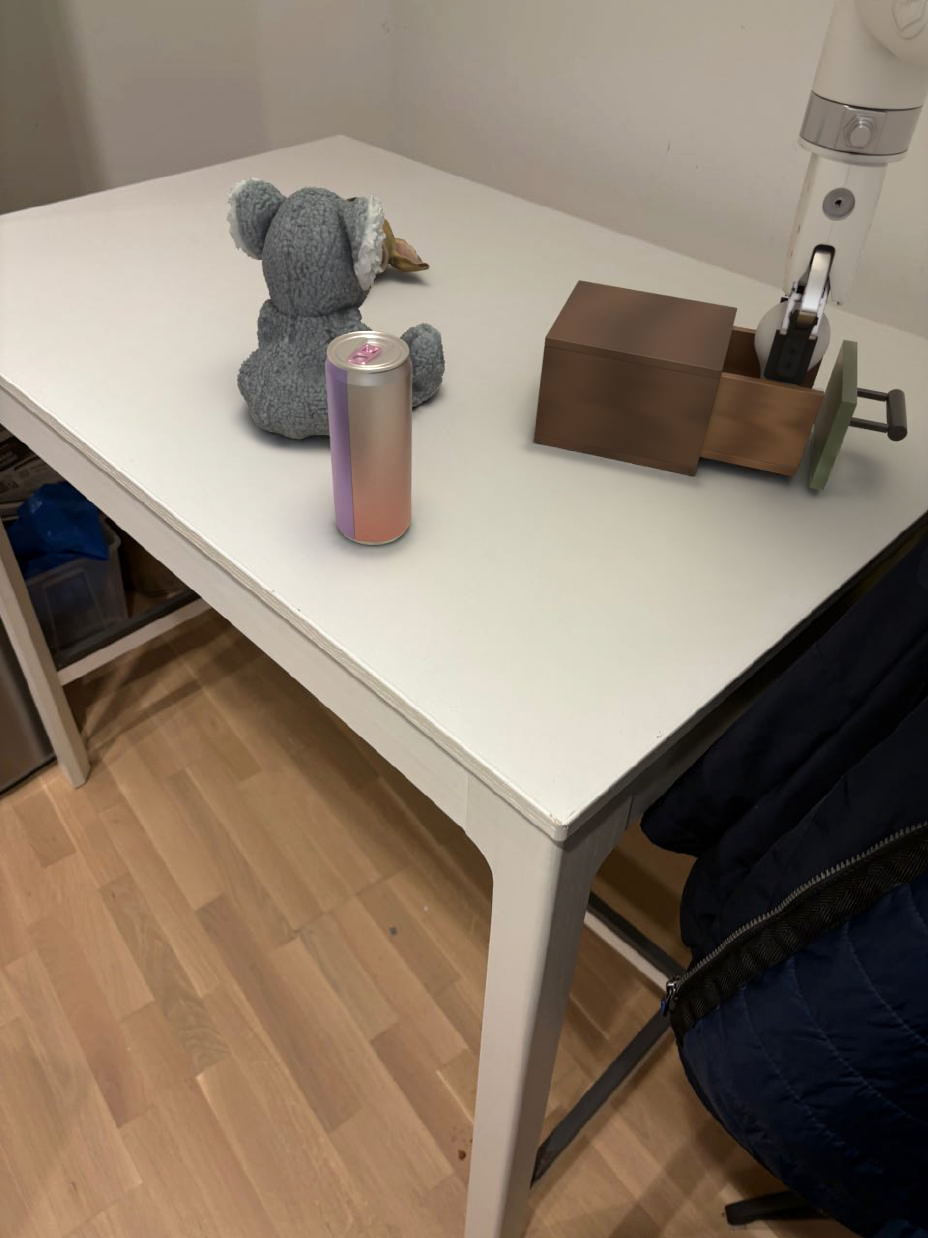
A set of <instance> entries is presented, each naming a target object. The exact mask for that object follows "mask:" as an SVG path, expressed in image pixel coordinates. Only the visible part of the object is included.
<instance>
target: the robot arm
mask: <svg viewBox="0 0 928 1238" xmlns="http://www.w3.org/2000/svg"><path fill="white" fill-rule="evenodd" d="M833 3H834V4H833V6H832V11H831V14H830V17H829V22H828V25H827V30H826V32H825V37H824V41H823V44H822V48H821V51H820V55H819V59H818V62H817V67H816V70H815V73H814V77H813V81H812V84H811V89H810V93H809V95H808V96H809V97H808V101H807V103H806V108H805V112H804V115H803V119H802V123H801V126H800V130H799V133H798V137H797V141H796V142H797V144H798V146H800V147H801V148H802V149H803V150H805V151H807V152H810V153H811V154H810V157H809V161H808V165H807V168H806V172H805V176H804V180H803V183H802V187H801V190H800V194H799V199H798V202H797V205H796V210H795V213H794V218H793V222H792V227H791V231H790V236H789V241H788V247H787V253H786V260H785V266H784V276H783V285H782V292H783V293H784V296H781V297H780V301H779V303H782V302H785V301H788V302H787V306H786V310H785V313H784V317H783V321H782V324H781V328H780V330H778V329H776V333H775V336H774V339H773V343H772V346H771V350H770V353H769V357H768V360H767V363H766V367H765V370H764V377H765V378H766V379H769V380H774V381H780V382H785V383H790V384H796V385H801V384H802V383H803V382H804V380H805V377H806V374H807V371H808V368H809V365H810V362H811V359H812V355H813V352H814V349H815V346H816V343H817V340H818V336H817V333H818V330H819V326H820V323H821V320H822V316H823V313H824V314H825V309H826V306H827V303H828V299H829V294H830V298H831V300H830V301H831V302H835V303H836V305H837V306H840V307H841V306H843V305H845V304H846V303H847V302H848V301H849V299H850V294H851V291H852V288H853V285H854V281H855V278H856V275H857V272H858V268H859V266H860V262H861V259H862V256H863V253H864V249H865V246H866V243H867V239H868V236H869V233H870V230H871V227H872V223H873V221H874V217H875V213H876V210H877V207H878V203H879V200H880V197H881V193H882V189H883V186H884V181H885V178H886V173H887V168H888V166H889V165H888V164H893V163H897V162H900V161H902V160H904V159H905V158H906V157H907V154H908V151H909V147H910V145H911V142H912V139H913V136H914V134H915V131H916V128H917V125H918V122H919V119H920V116H921V113H922V110H923V107H924V104H925V102H926V99H927V96H928V0H834V2H833ZM795 302H801V304H800V306H799V310H797V309H795V311H794V312H793V309H794V306H795Z"/></svg>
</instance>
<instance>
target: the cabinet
mask: <svg viewBox="0 0 928 1238" xmlns="http://www.w3.org/2000/svg"><path fill="white" fill-rule="evenodd" d="M737 313H738V307H734V306H729V305H723V304H717V303H713V302H712V303H711V302H705V301H700V300H694V299H688V298H685V297H684V298H683V297H678V296H671V295H666V294H661V293H656V292H655V293H654V292H648V291H644V290H638V289H632V288H626V287H621V286H620V287H619V286H615V285H610V284H604V283H603V284H602V283H597V282H591V281H586V280H580V279H578V281H577V282H576V284H575V285H574V288H573V289H572V291H571V293H570V294H569V296H568V298H567V299H566V301H565V303H564V305H563V307H562V308H561V310H560V311H559V313H558V315H557V317H556V318H555V320H554V322H553V323H552V325H551V327H550V328H549V330H548V332H547V334H546V336H545V337H544V347H543V353H542V363H541V373H540V379H539V380H540V381H539V388H538V389H539V390H538V397H537V407H536V417H535V423H534V424H535V425H534V431H533V433H534V434H533V443H537V444H540V445H541V444H542V445H546V446H551V447H556V448H561V449H565V450H568V451H569V450H570V451H575V452H579V453H583V454H589V455H594V456H597V457H603V458H607V459H611V460H617V461H622V462H627V463H631V464H635V465H640V466H645V467H649V468H654V469H659V470H663V471H669V472H673V473H677V474H682V475H688V476H692V477H695V476H696V471H697V468H698V465H699V461H700V458H701V457H700V453H701V450H702V446H703V442H704V438H705V435H706V431H707V427H708V423H709V419H710V416H711V412H712V408H713V404H714V401H715V397H716V393H717V389H718V386H719V382H720V378H721V374H722V370H723V366H724V362H725V358H726V354H727V350H728V345H729V341H730V337H731V333H732V329H733V326H735V325H734V323H735V320H736V316H737Z"/></svg>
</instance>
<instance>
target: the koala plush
mask: <svg viewBox="0 0 928 1238" xmlns="http://www.w3.org/2000/svg"><path fill="white" fill-rule="evenodd" d="M225 194H226V196H227V204H229V205H230V208H229V210H228V213H227V215H226V218H225V220H226V221H227V222H228V223H229V230H228V233H229V234H230V237H231V239H232V240H233V242H234V245H235V248H236V249H237V250H238V251H239V250H240V249H241V251H242V253H244V254H246V257H248V258H249V257H250V258H251V259H252V260H256V261H261V267H262V268H261V269H262V270H261V271H262V276H263V277H264V281H265V283H266V288H267V290H268V295H269V298H268V299H266V300H264V302H263V303H262V306H261V307H260V308H259V315H258V317H257V320H256V324H257V331H256V335H257V336H256V337H257V341H258V343H257V344H258V346H257V347H258V348H257V349H256V350H253V351H252V352H251V353H250V354H249V356H248V357H246V359H245V360H243V361H242V363H241V364H240V367H239V368H238V372H239V373H238V374H237V375H236V376H237V379H236V381H237V382H236V385H237V387H238V390H239V392H240V395H241V396H242V398H243V400H244V401H245V403H246V404H247V406H248V408H249V410H250V416H251V417H252V419H253V421H254V423H255V426H256V427H257V428H260V429H262V430H264V431H268V432H269V433H270V432H271V433H274V434H279V435H282V436H283V437H285V438H290V439H292V440H295V439H296V440H302V439H306V438H308V437H310V436H311V437H312V436H328V437H330V433H329V418H328V404H327V389H326V374H325V362H326V359H327V347H328V345H329V344H330V342H331V341H332V340H334V339H335V338H337V337H339V336H341V335H344V334H347V333H351V332H357V331H374V330H373V329H372V328H371V327H369V326H368V325H366V323H364V322H362V319H363V316H362V313H361V311H360V308H361V306H363V305H364V302H365V301H366V300H367V298H368V295H369V294H370V290H372V288H373V287H374V285H375V281H374V280H375V279H376V277H377V275H375V274H376V273H377V270H378V271H379V272H381V273H384V271H383V270H382V269H381V267H380V266H379V265H380V264H381V261H382V251H383V249H382V244H383V243H382V241H383V239H384V238H386V235H385V233H384V232H383V229H382V226H383V224H384V220H385V219H386V218H385V210H384V208H383V205H382V201H383V198H379V197H377V196H376V195H375V194H373V195H372V194H370V195H369V198H366V197H365V196H361V197H358V198H356V199H355V201H353V202H349V203H347V202H346V201H345V200H344V199H345V198H344V199H343V197H341V196H339V194H337V193H336V192H335V191H331V190H329V189H327V188H326V187H324V188H323V187H317V186H309V187H307V186H304V188H303V187H302V188H300V189H299V190H297V189H296V191H294V192H293V193H291V194H289V196H288V197H287V196H286V195H284V194H282V193H281V191H280V190H279V189H278V188H277V187H275V185H274V184H273V183H271V182H266V181H265V180H264V179H260V178H259V177H248V178H246V177H245V178H244V179H241V180H240V182H238V181H235V184H234V186H233V185H231V186H230V193H228V191H226V192H225ZM399 338H400V339H402V340H403V341H404V342H405V343H406V344H407V345H408V347H409V357H410V359H411V362H412V408H413V407H416V406H417V407H418V406H419V405H422V404H423V403H424V402H425V401H427V400H428V399H429V398H430V397H432V396H433V395H434V394H435V392H436V391H437V390H438V389H439V388H440V386H441V384H442V383H443V376H444V374H445V370H446V368H445V367H446V366H445V365H446V364H445V363H446V360H445V355H444V351H443V349H444V347H443V346H444V345H443V341H442V333H441V332H440V331H438V328H435V327H434V326H433V325H431V324H429V323H427V322H426V323H425V322H421V323H420V324H417V325H416V326H410V327H409V328H408V329H407V330H406V331H404V332H403V333H402V334H401V336H399Z"/></svg>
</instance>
